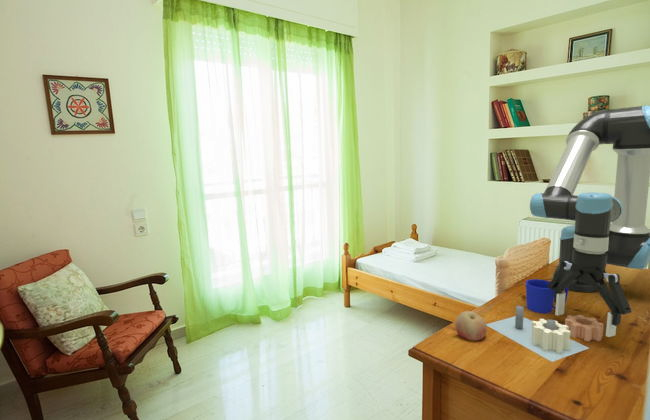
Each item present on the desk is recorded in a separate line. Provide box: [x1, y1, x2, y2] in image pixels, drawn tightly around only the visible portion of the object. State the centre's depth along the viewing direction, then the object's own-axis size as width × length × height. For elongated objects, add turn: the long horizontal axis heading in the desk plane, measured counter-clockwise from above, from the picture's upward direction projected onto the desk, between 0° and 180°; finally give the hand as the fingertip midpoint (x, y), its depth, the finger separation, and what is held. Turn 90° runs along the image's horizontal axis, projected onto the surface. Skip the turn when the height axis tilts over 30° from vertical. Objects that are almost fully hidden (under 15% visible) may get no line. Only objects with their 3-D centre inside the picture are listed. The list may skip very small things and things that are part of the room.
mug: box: [525, 278, 569, 314], centre depth 114 cm, size 8×12×10 cm
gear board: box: [486, 305, 590, 363], centre depth 99 cm, size 14×21×8 cm, turn 21°
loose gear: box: [564, 314, 605, 342], centre depth 99 cm, size 9×9×5 cm
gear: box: [531, 318, 571, 353], centre depth 94 cm, size 9×9×5 cm
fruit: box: [454, 310, 488, 342], centre depth 101 cm, size 8×8×8 cm
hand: (583, 324), depth 99 cm, fingers open, 13 cm apart
